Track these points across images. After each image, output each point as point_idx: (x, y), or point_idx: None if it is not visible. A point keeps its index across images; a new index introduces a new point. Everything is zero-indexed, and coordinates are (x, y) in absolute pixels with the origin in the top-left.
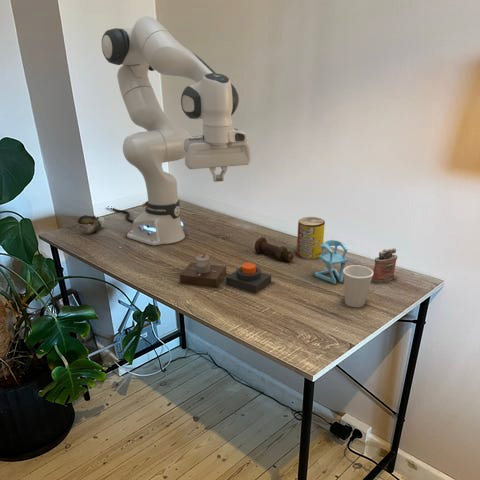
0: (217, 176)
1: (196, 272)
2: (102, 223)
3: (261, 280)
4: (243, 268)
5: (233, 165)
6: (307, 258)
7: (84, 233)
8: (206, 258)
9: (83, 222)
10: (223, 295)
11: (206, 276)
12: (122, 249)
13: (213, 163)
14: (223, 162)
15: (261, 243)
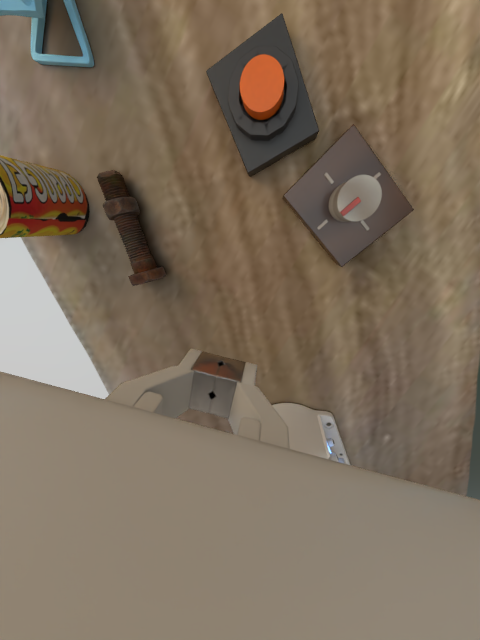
0: (230, 377)
1: None
2: None
3: (248, 44)
4: (283, 77)
5: (10, 377)
6: (74, 179)
7: None
8: (355, 183)
9: None
10: (358, 74)
11: (364, 157)
12: (389, 428)
13: (279, 493)
14: (106, 451)
15: (146, 268)
